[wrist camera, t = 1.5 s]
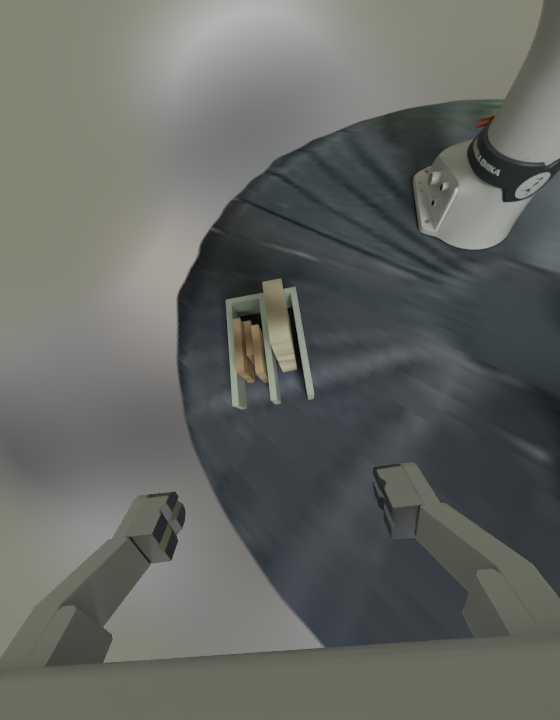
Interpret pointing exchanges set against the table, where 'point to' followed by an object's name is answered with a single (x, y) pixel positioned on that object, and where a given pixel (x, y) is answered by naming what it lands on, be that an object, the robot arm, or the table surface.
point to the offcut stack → (249, 351)
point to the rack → (255, 306)
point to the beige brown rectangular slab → (279, 324)
